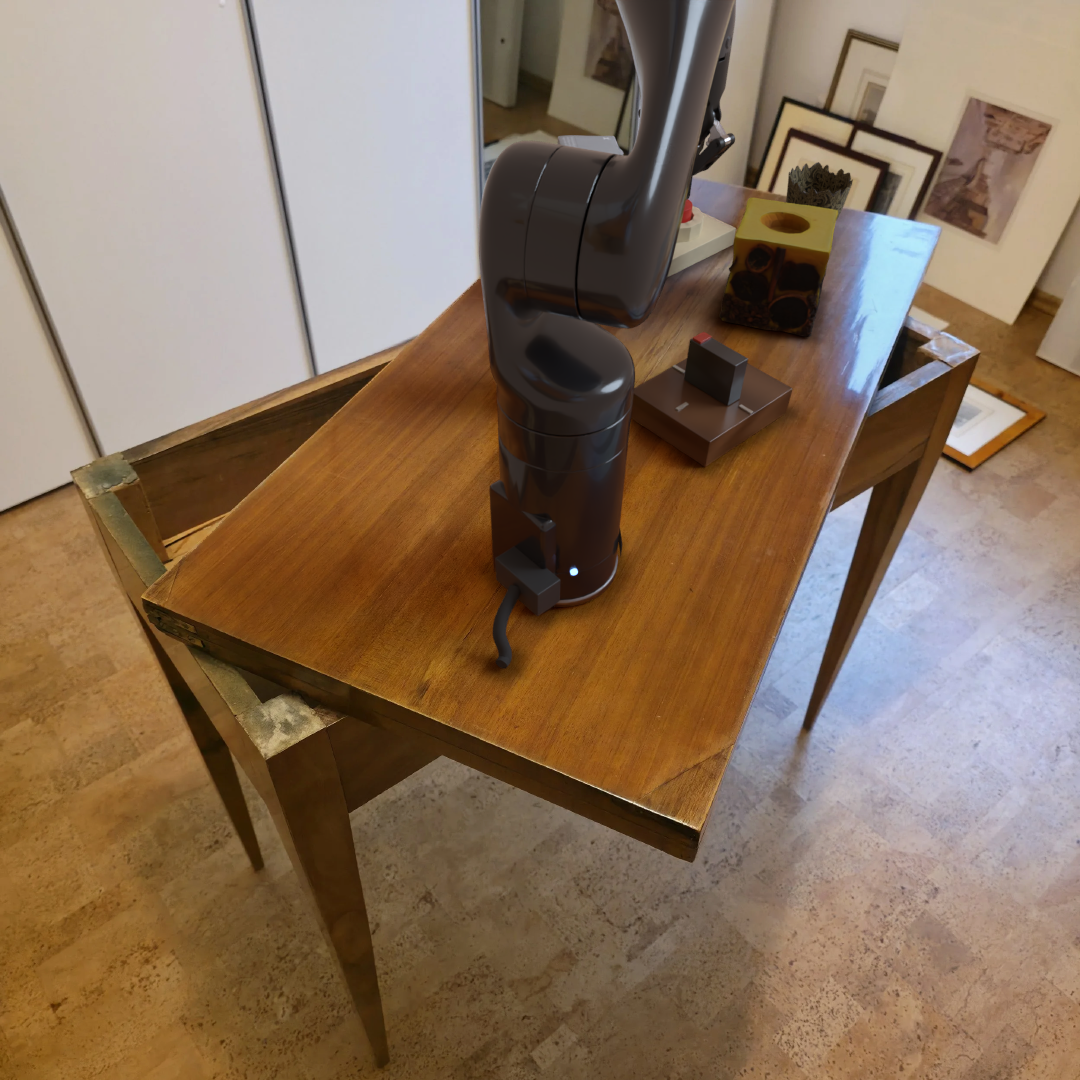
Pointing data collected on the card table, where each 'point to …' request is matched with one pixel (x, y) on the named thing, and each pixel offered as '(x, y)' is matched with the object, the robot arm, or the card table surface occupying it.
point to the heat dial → (715, 368)
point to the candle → (778, 266)
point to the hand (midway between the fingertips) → (676, 201)
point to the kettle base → (700, 240)
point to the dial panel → (707, 411)
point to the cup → (818, 187)
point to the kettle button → (687, 211)
